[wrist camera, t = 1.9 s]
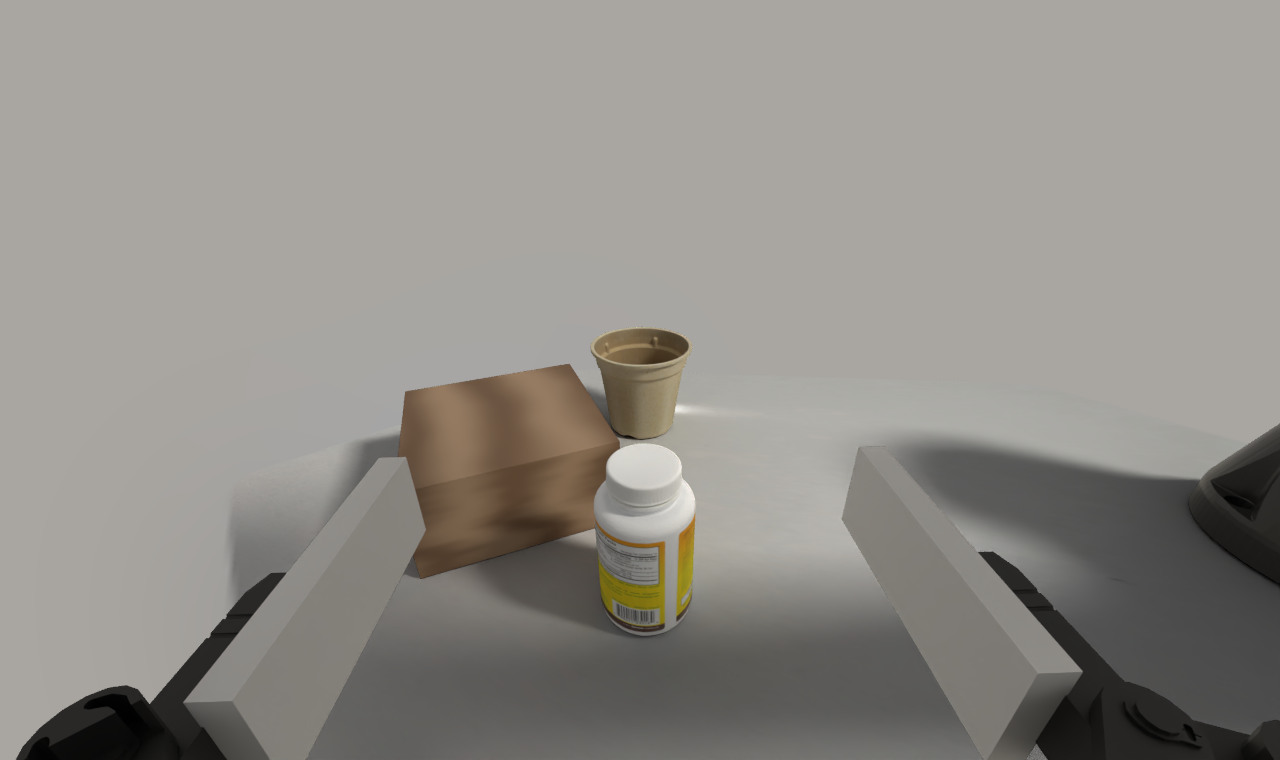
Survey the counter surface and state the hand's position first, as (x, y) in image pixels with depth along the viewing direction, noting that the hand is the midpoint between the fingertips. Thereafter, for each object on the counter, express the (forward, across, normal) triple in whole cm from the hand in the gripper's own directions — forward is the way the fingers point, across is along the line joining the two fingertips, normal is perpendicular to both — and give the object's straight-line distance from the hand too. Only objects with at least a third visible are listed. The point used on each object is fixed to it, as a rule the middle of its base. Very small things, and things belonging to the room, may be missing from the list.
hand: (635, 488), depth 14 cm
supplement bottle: (+9, +1, -16) cm, 18 cm away
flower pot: (+29, +1, -16) cm, 34 cm away
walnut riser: (+20, -10, -16) cm, 27 cm away
